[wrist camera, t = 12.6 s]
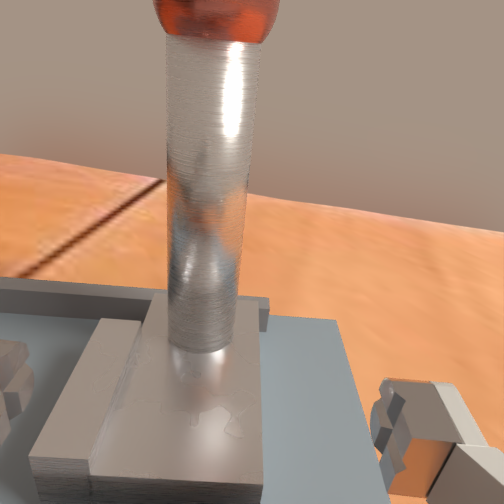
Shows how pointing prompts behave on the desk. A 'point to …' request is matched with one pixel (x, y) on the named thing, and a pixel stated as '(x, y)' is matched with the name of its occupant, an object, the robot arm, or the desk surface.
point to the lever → (179, 303)
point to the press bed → (272, 391)
